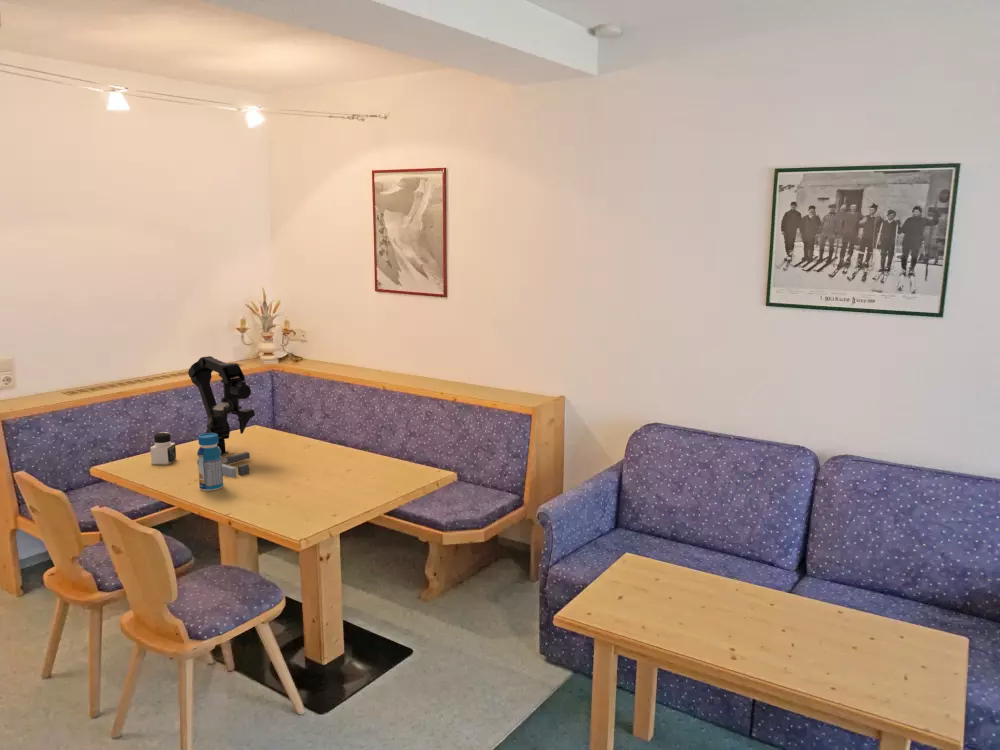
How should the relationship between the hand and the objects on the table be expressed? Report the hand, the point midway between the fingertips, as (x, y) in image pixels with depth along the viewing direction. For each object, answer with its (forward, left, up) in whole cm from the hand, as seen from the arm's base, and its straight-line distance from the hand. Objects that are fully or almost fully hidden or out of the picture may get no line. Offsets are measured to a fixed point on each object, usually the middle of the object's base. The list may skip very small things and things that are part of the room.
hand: (232, 432), depth 313 cm
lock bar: (+5, -4, -11) cm, 13 cm away
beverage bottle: (+23, -26, -12) cm, 36 cm away
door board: (+9, -13, -12) cm, 20 cm away
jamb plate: (+5, -9, -12) cm, 15 cm away
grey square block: (+18, -9, -12) cm, 23 cm away
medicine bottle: (-20, -19, -12) cm, 30 cm away
